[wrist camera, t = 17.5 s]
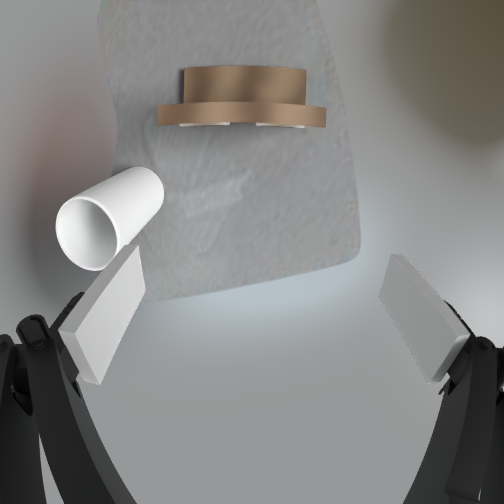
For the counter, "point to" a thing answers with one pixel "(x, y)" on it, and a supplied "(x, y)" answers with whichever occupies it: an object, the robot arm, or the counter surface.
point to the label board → (243, 98)
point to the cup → (108, 216)
